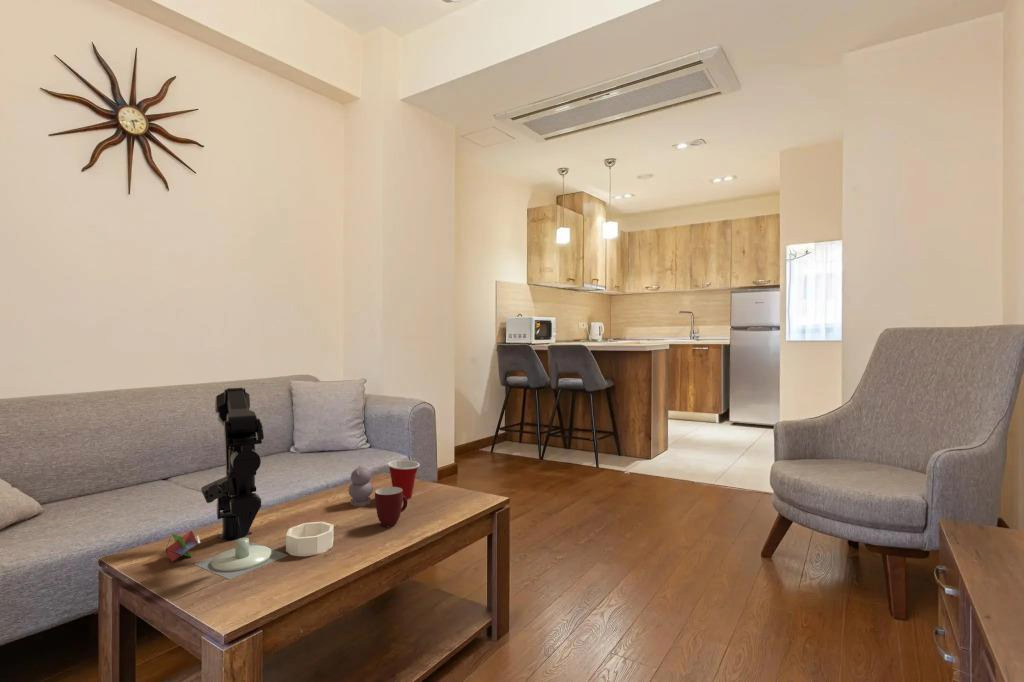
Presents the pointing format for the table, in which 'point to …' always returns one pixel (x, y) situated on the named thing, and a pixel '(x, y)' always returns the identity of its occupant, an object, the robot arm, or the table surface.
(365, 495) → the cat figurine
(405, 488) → the plastic cup
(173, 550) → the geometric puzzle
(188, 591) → the table surface
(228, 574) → the mat
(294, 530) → the bowl
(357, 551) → the table surface
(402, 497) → the mug
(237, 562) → the lid
